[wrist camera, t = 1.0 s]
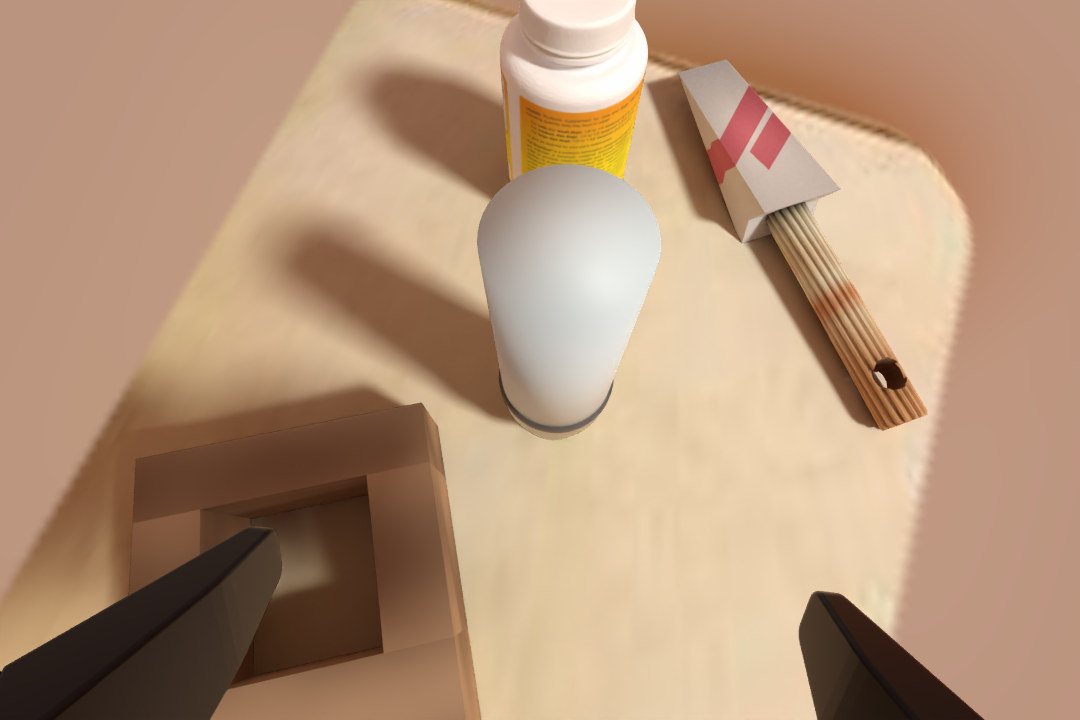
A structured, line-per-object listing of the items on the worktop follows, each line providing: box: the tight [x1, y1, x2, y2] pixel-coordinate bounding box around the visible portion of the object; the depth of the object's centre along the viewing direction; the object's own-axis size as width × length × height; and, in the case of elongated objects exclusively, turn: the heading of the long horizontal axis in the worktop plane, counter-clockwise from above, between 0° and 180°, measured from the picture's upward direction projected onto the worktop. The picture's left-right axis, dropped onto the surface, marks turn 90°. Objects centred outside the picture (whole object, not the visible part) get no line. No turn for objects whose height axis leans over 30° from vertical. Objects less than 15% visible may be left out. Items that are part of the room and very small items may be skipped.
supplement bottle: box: [500, 0, 648, 182], centre depth 23 cm, size 6×6×10 cm
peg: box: [477, 164, 661, 440], centre depth 18 cm, size 4×4×12 cm
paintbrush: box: [678, 60, 927, 431], centre depth 26 cm, size 4×3×20 cm
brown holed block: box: [129, 403, 481, 720], centre depth 18 cm, size 18×10×4 cm, turn 12°
